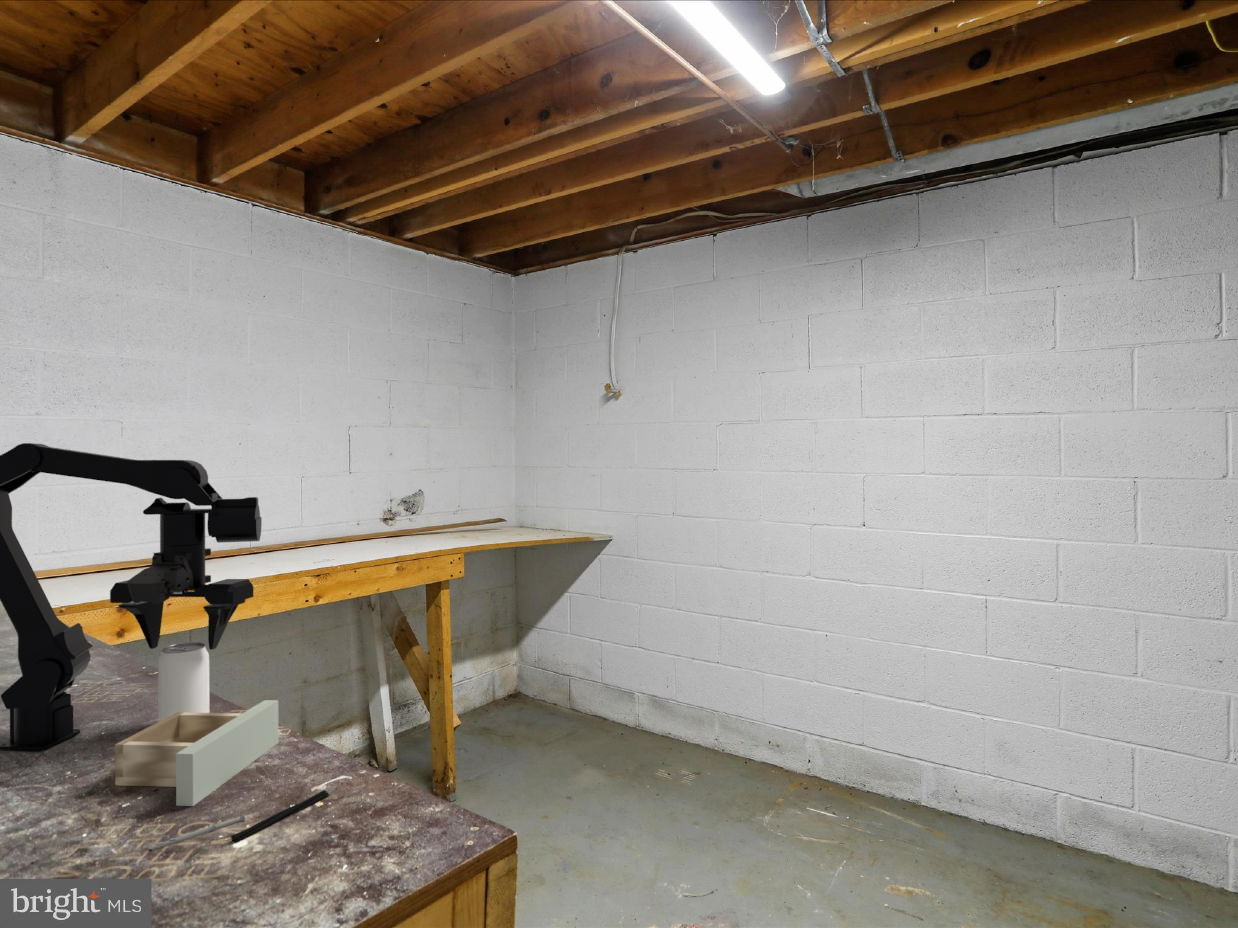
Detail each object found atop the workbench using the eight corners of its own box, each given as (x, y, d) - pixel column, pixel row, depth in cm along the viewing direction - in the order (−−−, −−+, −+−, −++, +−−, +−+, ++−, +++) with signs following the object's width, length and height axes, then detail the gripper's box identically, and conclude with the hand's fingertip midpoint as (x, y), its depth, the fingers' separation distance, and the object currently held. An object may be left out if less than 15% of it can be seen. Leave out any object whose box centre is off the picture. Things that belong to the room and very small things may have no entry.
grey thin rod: (245, 824, 77) (245, 814, 77) (152, 855, 71) (152, 845, 71) (242, 821, 77) (242, 812, 77) (150, 851, 71) (150, 841, 71)
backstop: (176, 805, 80) (176, 753, 80) (264, 742, 98) (264, 699, 98) (193, 805, 80) (192, 753, 80) (278, 742, 98) (278, 700, 98)
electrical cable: (328, 794, 83) (329, 785, 83) (334, 796, 83) (334, 787, 83) (230, 843, 73) (230, 833, 73) (236, 845, 72) (236, 836, 72)
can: (185, 737, 100) (184, 653, 100) (147, 733, 101) (147, 651, 101) (219, 720, 107) (219, 642, 106) (183, 717, 108) (183, 640, 108)
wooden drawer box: (115, 785, 85) (115, 744, 85) (177, 748, 96) (177, 712, 96) (201, 787, 85) (201, 746, 85) (254, 749, 96) (254, 713, 96)
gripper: (78, 550, 96) (78, 663, 96) (208, 551, 95) (208, 665, 95) (138, 541, 107) (138, 642, 108) (255, 542, 106) (255, 644, 106)
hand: (183, 648), depth 104 cm, fingers open, 9 cm apart
